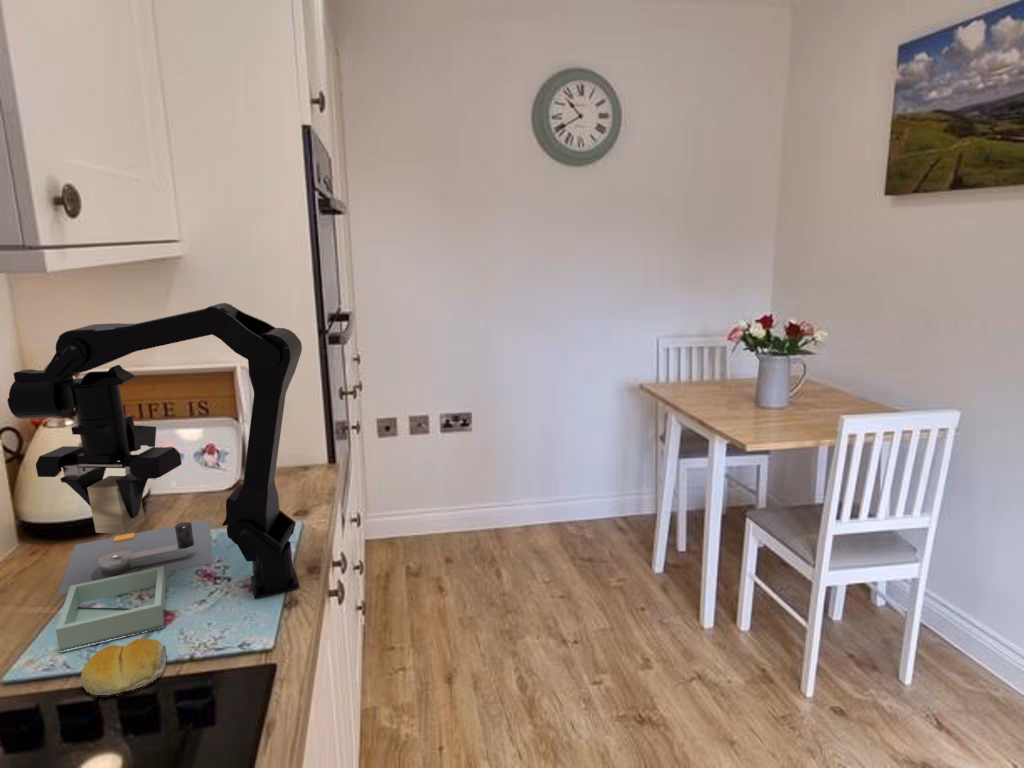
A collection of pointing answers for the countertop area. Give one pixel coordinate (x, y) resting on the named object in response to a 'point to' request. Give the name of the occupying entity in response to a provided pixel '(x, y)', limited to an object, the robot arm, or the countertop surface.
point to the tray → (110, 610)
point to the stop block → (111, 508)
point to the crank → (146, 553)
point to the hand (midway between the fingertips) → (119, 516)
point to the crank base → (87, 562)
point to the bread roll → (124, 667)
